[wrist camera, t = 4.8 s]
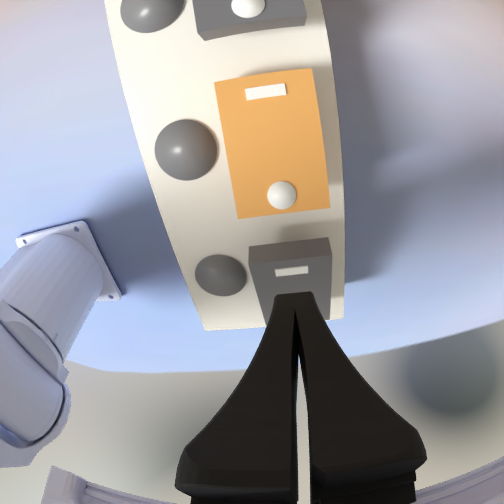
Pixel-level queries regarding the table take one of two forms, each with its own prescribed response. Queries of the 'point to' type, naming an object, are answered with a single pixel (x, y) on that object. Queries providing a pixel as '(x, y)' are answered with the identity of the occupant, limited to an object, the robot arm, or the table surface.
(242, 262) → the switch panel
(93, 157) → the table surface
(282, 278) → the block
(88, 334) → the table surface
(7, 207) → the table surface
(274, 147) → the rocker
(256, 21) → the rocker
